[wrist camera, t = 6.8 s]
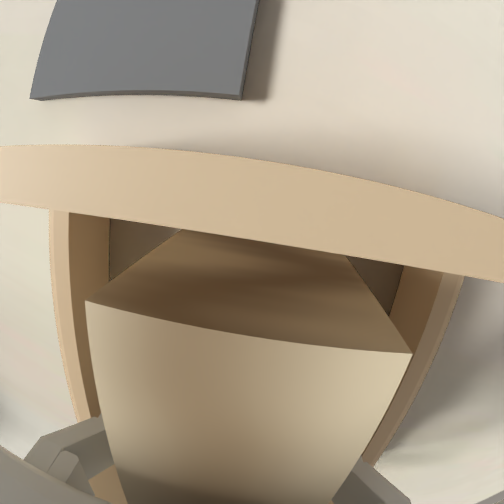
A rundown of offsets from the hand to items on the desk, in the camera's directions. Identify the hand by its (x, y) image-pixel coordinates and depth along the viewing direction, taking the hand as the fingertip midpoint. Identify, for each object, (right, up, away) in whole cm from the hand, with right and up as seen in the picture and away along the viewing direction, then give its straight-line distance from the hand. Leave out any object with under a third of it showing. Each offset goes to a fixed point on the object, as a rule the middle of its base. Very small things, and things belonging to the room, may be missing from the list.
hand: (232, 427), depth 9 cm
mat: (-4, +22, +1) cm, 22 cm away
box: (0, +1, +2) cm, 2 cm away
